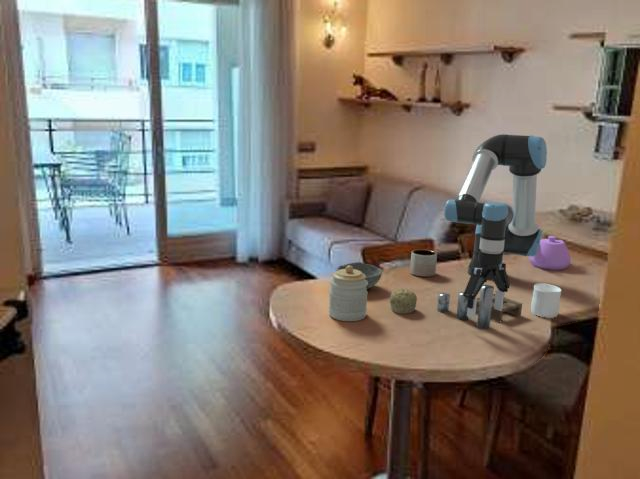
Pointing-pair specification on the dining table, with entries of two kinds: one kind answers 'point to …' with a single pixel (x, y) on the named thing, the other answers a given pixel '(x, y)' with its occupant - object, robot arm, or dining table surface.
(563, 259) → the teapot
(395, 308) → the decorative item
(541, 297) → the cup
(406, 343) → the dining table surface
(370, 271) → the bowl
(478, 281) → the robot arm
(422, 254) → the planter
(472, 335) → the dining table surface
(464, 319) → the medium pin
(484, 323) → the long pin
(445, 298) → the short pin
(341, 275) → the jar
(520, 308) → the block
